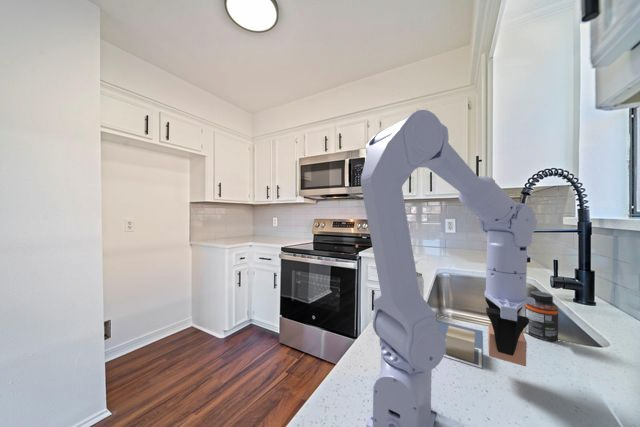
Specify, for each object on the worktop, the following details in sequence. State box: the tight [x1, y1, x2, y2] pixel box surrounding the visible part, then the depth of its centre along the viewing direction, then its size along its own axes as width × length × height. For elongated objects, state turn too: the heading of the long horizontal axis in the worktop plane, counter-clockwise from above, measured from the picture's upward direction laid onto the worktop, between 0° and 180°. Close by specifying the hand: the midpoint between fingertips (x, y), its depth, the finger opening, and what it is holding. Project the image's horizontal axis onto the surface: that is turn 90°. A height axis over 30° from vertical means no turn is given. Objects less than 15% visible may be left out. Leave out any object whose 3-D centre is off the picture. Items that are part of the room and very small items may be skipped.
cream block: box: [446, 326, 475, 362], centre depth 51 cm, size 5×5×4 cm
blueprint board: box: [436, 319, 484, 370], centre depth 57 cm, size 18×14×1 cm
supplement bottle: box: [524, 290, 559, 343], centre depth 59 cm, size 6×6×11 cm
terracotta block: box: [487, 322, 528, 367], centre depth 43 cm, size 5×5×4 cm
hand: (503, 345), depth 43 cm, fingers closed on terracotta block, 5 cm apart
